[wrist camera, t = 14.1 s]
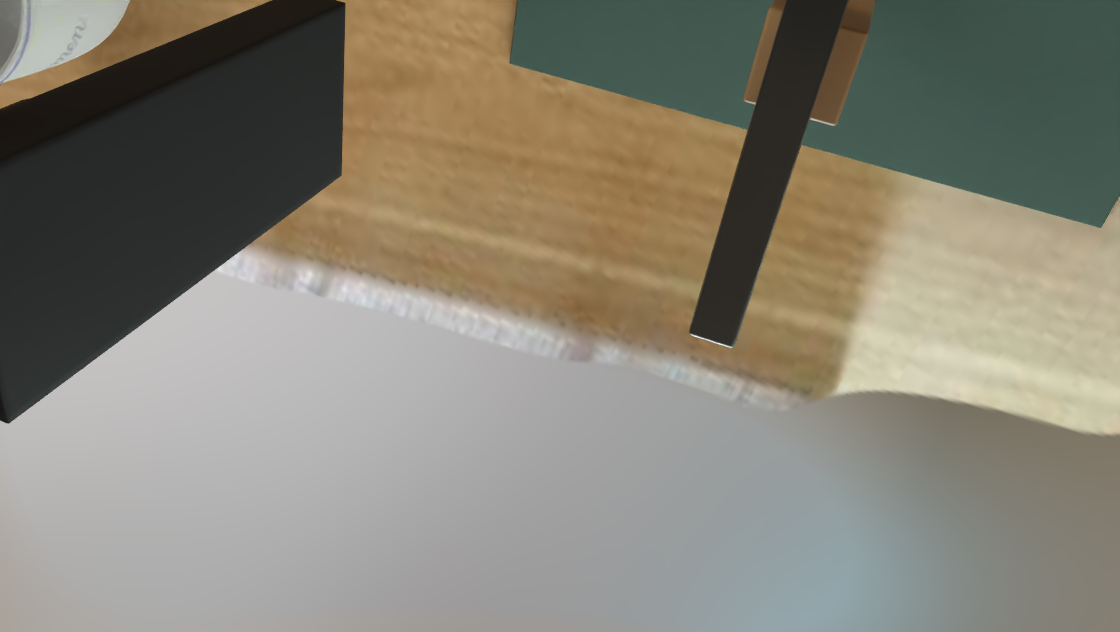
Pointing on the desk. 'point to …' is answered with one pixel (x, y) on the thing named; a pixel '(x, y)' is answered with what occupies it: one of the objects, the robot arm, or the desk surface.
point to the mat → (884, 84)
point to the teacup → (52, 32)
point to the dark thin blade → (777, 142)
